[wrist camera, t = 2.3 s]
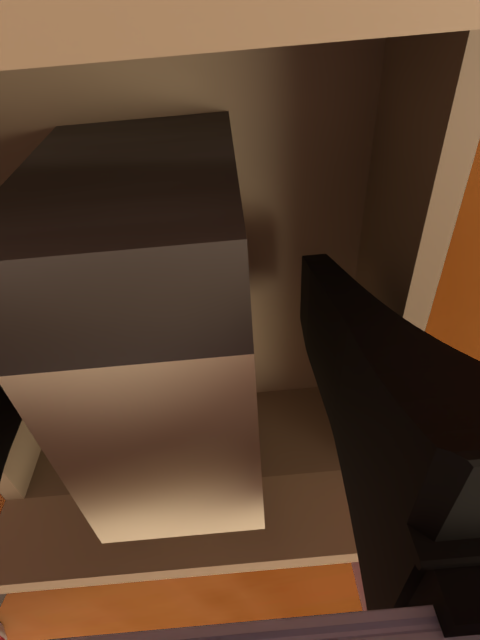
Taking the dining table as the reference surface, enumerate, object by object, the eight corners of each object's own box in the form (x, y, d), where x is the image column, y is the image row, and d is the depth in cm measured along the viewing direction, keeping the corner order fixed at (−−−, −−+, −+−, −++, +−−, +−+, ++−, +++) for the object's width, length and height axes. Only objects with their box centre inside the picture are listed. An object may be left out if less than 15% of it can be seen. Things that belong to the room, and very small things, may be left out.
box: (247, 356, 15) (264, 529, 10) (134, 366, 15) (101, 543, 10) (228, 110, 10) (247, 238, 5) (56, 126, 10) (-76, 267, 5)
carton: (352, 384, 17) (411, 557, 12) (48, 411, 17) (-18, 595, 12) (418, -53, 9) (710, -74, 4) (-185, 0, 9) (-727, 50, 4)
